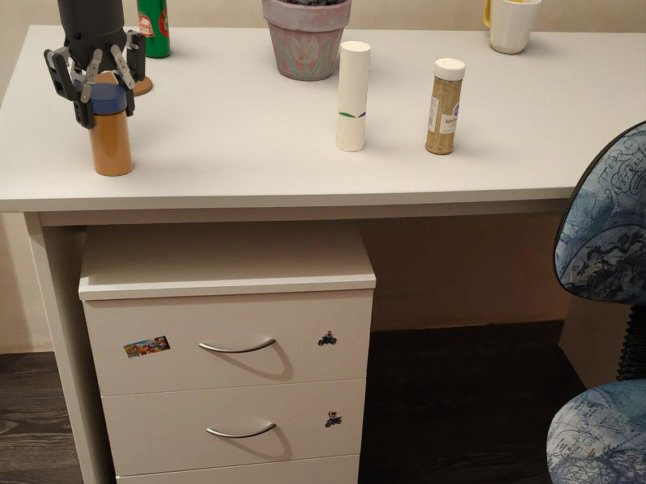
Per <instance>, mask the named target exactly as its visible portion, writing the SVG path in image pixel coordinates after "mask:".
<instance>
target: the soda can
mask: <svg viewBox="0 0 646 484" xmlns="http://www.w3.org/2000/svg"><path fill="white" fill-rule="evenodd" d="M135 1H136V9H137V19H138V27H139V33H141V34H143V35H145V37H146V57H149V58H153V59H162V58H163V59H164V58H166V57H168V56H169V55H170V54H171V50H172V49H171V38H170V28H169V14H168V3H167V0H135Z"/></svg>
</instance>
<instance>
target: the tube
mask: <svg viewBox="0 0 646 484" xmlns="http://www.w3.org/2000/svg"><path fill="white" fill-rule="evenodd" d="M371 49H372V47H371V45H369V44H368V43H366V42H363V41H359V40H358V41H357V40H347V41H343V42H341V43H340V55H339V75H338V93H337V94H338V96H337V112H336V113H337V116H336V133H335V134H336V136H335V146H336V148H337V149H339V150H341V151H344V152H350V153H353V152H354V153H355V152H359V151H362V150H363V149H364V143H365V130H366V118H367V117H366V116H367V113H366V112H367V105H368V104H367V102H368V91H369V76H370V64H371V63H370V62H371Z"/></svg>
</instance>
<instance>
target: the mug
mask: <svg viewBox="0 0 646 484" xmlns="http://www.w3.org/2000/svg"><path fill="white" fill-rule="evenodd" d="M542 1H543V0H485V1H484V6H483V7H484V8H483V15H482V21H483V24H484V26H485V27H487V29H488V30H489V33H488V41H489V43H490V45H491V47H492V48H493V50H495V51H496V52H499V53H502V54H508V55H514V54H518V53H521V51H522V50H523V49H524V48H526V47H527V45H528V42H529V38H530V36H531V33H532V30H533V28H534V24H535V22H536V19H537V16H538V14H539V11H540V8H541V6H542V5H541V4H542Z"/></svg>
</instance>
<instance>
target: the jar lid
mask: <svg viewBox="0 0 646 484" xmlns="http://www.w3.org/2000/svg"><path fill="white" fill-rule="evenodd" d="M88 101H90V102H91V107H92V113H99V114H109V113H116V112H119V111H122V110H124V109H125V108H126V107H127V98H126V90H125V89H124V88H123V87H122V86H120V85H117V84H113V83H95V84H94V85H93V86H92V87H91V92H90V97H89V100H88Z"/></svg>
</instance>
